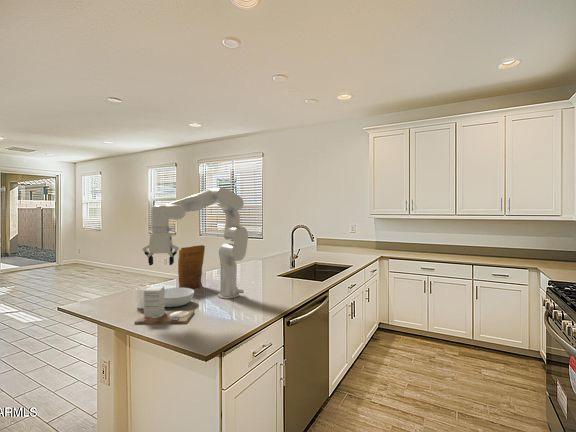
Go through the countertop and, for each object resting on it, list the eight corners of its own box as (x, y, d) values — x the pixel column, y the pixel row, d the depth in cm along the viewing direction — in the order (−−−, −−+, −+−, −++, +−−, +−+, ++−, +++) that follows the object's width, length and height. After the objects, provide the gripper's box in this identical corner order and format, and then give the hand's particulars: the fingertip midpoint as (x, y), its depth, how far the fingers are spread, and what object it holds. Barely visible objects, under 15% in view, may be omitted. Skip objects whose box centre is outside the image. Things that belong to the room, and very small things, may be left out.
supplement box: (149, 311, 148) (149, 286, 148) (165, 311, 149) (165, 286, 149) (143, 317, 141) (143, 290, 141) (159, 316, 142) (159, 290, 141)
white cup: (155, 305, 163) (155, 286, 163) (143, 309, 156) (143, 290, 156) (143, 303, 166) (143, 285, 166) (132, 308, 158) (132, 289, 158)
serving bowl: (170, 313, 150) (170, 300, 150) (145, 306, 161) (145, 293, 161) (202, 303, 168) (202, 290, 168) (177, 297, 179) (177, 285, 179)
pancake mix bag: (207, 286, 203) (207, 245, 202) (179, 292, 190) (179, 247, 189) (202, 284, 208) (202, 244, 207) (175, 289, 194) (175, 246, 194)
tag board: (194, 313, 151) (194, 309, 151) (186, 323, 137) (186, 320, 137) (147, 313, 150) (147, 310, 150) (134, 324, 136) (134, 320, 136)
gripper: (180, 229, 152) (181, 263, 153) (145, 229, 152) (146, 263, 152) (176, 230, 145) (176, 266, 146) (139, 231, 144) (140, 266, 145)
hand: (161, 264), depth 149 cm, fingers open, 9 cm apart
